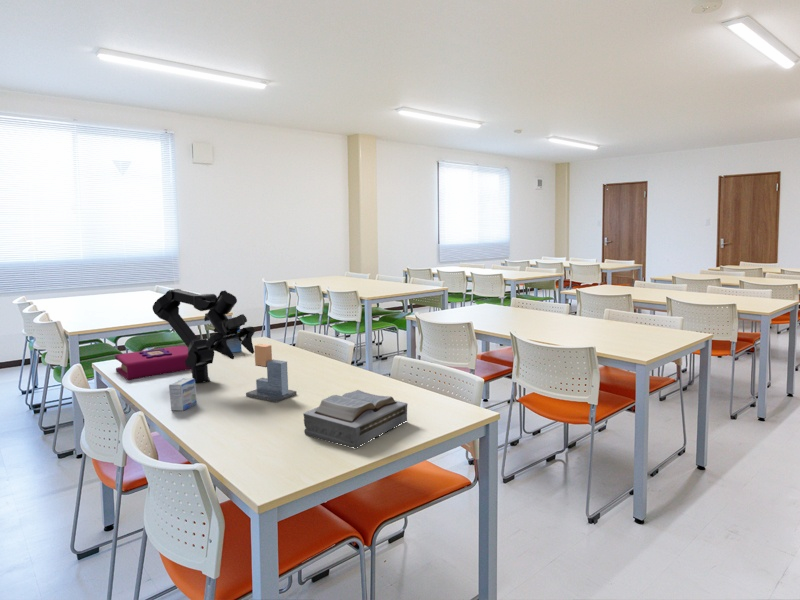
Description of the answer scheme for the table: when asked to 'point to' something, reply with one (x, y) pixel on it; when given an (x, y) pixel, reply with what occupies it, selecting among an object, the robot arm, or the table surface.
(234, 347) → the label tape cartridge
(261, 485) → the table surface
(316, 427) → the bible
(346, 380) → the table surface
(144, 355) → the book
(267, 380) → the stand
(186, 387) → the medicine box
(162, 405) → the table surface
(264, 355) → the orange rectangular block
